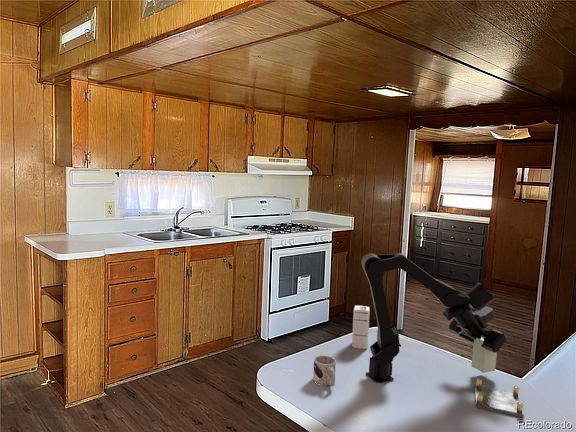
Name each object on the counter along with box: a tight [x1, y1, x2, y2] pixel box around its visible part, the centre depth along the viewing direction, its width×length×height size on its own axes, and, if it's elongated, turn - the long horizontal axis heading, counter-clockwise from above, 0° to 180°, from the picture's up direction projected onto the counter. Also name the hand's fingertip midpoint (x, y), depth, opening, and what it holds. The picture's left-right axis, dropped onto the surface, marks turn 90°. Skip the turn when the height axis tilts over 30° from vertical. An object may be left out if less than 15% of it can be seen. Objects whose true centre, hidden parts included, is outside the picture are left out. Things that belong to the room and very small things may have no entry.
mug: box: [312, 355, 337, 388], centre depth 135 cm, size 10×7×7 cm
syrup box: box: [351, 305, 370, 350], centre depth 165 cm, size 6×6×14 cm
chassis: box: [474, 378, 525, 419], centre depth 128 cm, size 12×12×3 cm
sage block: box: [470, 337, 498, 374], centre depth 144 cm, size 5×5×10 cm
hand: (488, 348), depth 144 cm, fingers closed on sage block, 5 cm apart
